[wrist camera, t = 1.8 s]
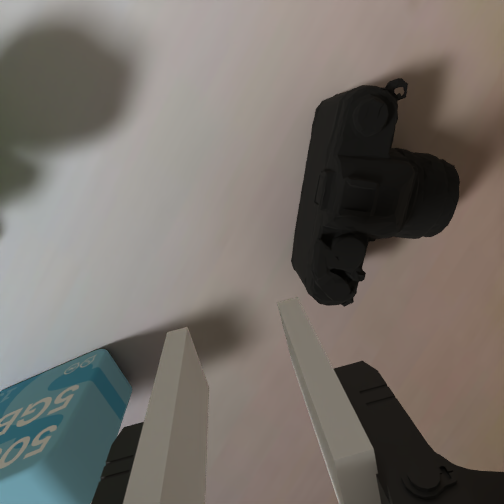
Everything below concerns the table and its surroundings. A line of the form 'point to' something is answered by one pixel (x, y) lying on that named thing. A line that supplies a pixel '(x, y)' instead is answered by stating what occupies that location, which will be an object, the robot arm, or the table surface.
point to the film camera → (363, 191)
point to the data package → (60, 431)
